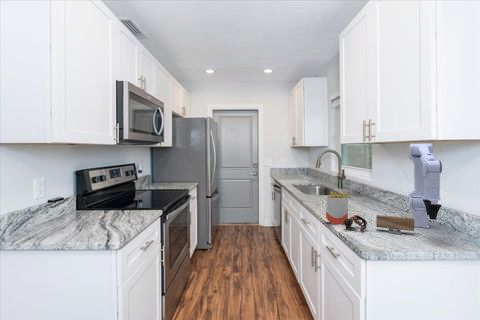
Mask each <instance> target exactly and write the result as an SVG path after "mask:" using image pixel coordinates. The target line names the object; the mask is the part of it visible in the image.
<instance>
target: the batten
mask: <svg viewBox="0 0 480 320" xmlns="http://www.w3.org/2000/svg"><path fill="white" fill-rule="evenodd" d="M375 217H376V220H375V221H376V222H375V223H376V225H375V226H376V228H381V229H388V230H389V229H398V230H400V231H408V232H415V226H414V218H412V217H405V216H404V217H403V216H395V215H392V216H391V215H383V214H382V215H381V214H376V216H375Z"/></svg>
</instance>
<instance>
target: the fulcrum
mask: <svg viewBox="0 0 480 320" xmlns="http://www.w3.org/2000/svg"><path fill="white" fill-rule="evenodd" d="M388 234H391V235H397V236H398V235H399V236H401V235H402V230H398V229H389V228H388Z"/></svg>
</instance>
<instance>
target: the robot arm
mask: <svg viewBox="0 0 480 320" xmlns="http://www.w3.org/2000/svg"><path fill="white" fill-rule="evenodd" d="M433 147H434V146H433V144H432V143H430V142H428V143H409V144H408V157H409V158H408V159H409V160H411V161H412V163H413V174H414V175H413V176H414V177H413V178H414V179H413V181H414V190H413V191H411V192H409V194H408V199H407V201H408V203H407V205H408V207H409V208H410V209H411V218H414V228H424V229H425V228H426V229H430V227H431V226H430V225H429V224H428V223H429V220H435V221H436V220H437V217H438V213H439V211H440V209H441V208H442V204H441V203H439V204H438V202H439V201H440V200H441V197H440V195H441V194H440V193H441V174H442V173H443V172H442V171H443V163H442V161H441V160H438V159H437V158H436V156H435V155H434V154H433V151H434V149H433ZM428 219H429V220H428Z"/></svg>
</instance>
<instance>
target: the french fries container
mask: <svg viewBox="0 0 480 320" xmlns="http://www.w3.org/2000/svg"><path fill="white" fill-rule="evenodd" d="M348 201H349V199H348V193H347V192H344V193H342V192H341V191H339V194H337V192H336V191H330V195H327V197H326V205H325V218H326V220H327V221H328V222H329V223H330V224H332V225H338V226H339V225H341V226H342V225H343V226H344V220H345V219H349V211H348V210H349V209H348V208H349V207H348V206H349V202H348Z"/></svg>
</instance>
